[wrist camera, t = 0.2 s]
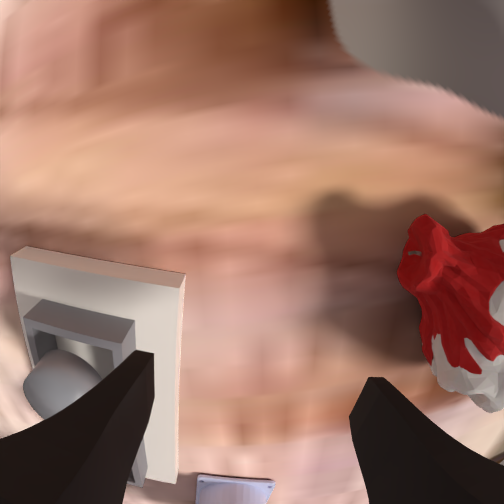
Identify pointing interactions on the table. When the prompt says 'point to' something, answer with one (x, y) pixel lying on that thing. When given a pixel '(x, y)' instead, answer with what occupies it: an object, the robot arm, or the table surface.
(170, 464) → the button panel
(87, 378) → the grey low dome
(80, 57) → the table surface
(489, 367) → the white red irregular piece
